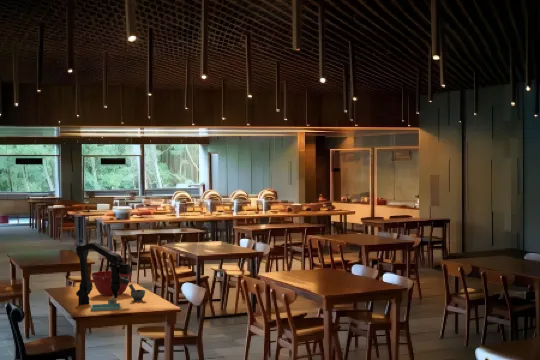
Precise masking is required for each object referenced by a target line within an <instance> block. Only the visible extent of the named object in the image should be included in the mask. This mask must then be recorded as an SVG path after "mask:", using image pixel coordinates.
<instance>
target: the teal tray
mask: <svg viewBox="0 0 540 360" xmlns="http://www.w3.org/2000/svg"><path fill="white" fill-rule="evenodd" d="M105 311H108V312H109V311H121V303H120V302H117V303H114V304H108V303H98V304H97V303H96V304H91V306H90V312H105Z"/></svg>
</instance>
